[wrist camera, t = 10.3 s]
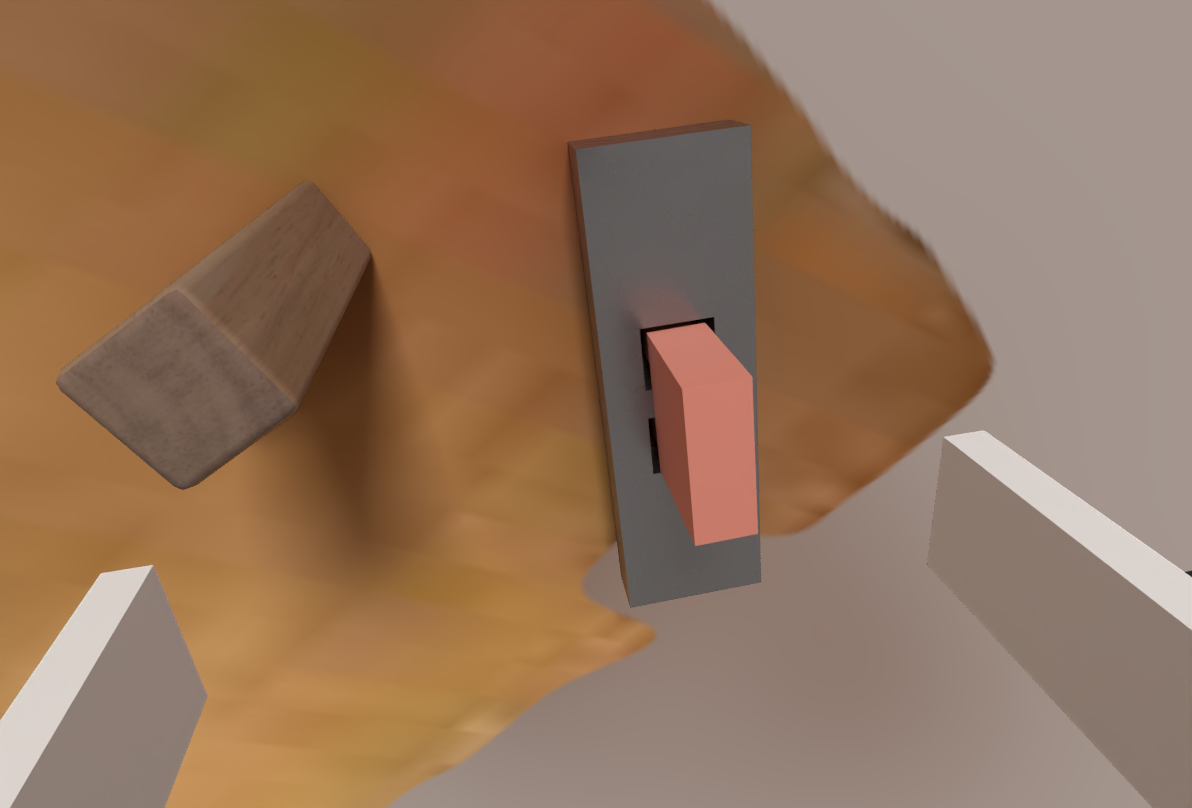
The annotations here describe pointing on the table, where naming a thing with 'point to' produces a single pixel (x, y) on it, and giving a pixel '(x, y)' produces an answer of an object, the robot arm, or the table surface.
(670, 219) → the rail
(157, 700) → the robot arm
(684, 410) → the pink slab
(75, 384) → the wooden block
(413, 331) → the table surface
